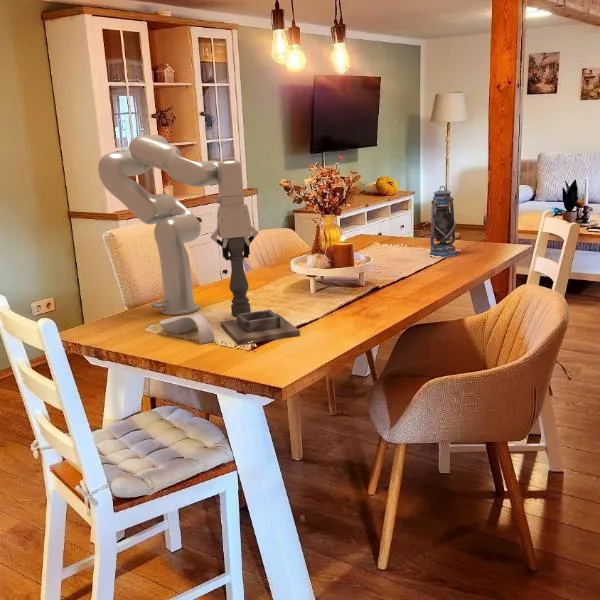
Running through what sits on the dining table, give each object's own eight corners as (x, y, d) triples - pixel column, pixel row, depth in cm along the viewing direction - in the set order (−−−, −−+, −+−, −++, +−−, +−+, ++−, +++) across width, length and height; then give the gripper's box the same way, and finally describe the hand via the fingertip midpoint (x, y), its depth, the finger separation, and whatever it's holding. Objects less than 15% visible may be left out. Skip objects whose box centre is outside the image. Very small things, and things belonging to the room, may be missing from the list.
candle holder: (252, 312, 225) (246, 235, 219) (249, 317, 219) (242, 238, 213) (233, 312, 225) (227, 236, 219) (230, 317, 219) (223, 239, 213)
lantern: (444, 251, 311) (443, 184, 304) (465, 254, 301) (465, 184, 294) (420, 256, 302) (418, 187, 295) (441, 259, 292) (440, 188, 285)
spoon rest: (153, 332, 209) (151, 309, 208) (188, 324, 216) (186, 301, 214) (190, 348, 191) (187, 323, 189) (226, 339, 197) (224, 314, 195)
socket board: (238, 345, 190) (236, 329, 188) (220, 326, 210) (219, 311, 209) (300, 335, 195) (299, 320, 194) (277, 317, 215) (276, 303, 214)
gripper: (206, 204, 207) (212, 263, 212) (261, 199, 212) (266, 257, 217) (202, 202, 214) (207, 260, 218) (255, 197, 219) (259, 253, 224)
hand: (236, 258), depth 218 cm, fingers closed on candle holder, 5 cm apart
